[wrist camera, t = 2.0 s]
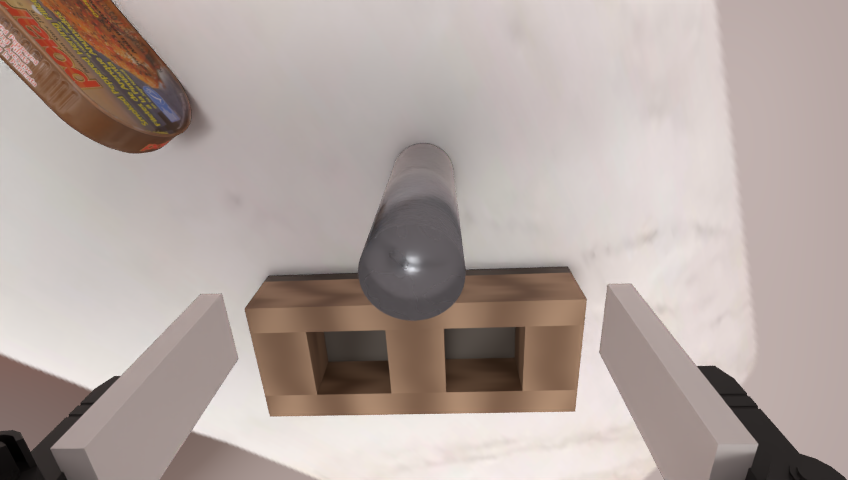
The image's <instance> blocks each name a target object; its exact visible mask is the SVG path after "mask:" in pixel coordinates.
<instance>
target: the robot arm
mask: <svg viewBox="0 0 848 480" xmlns="http://www.w3.org/2000/svg"><path fill="white" fill-rule="evenodd" d="M599 353H600V355H601V357H602V359H603V361H604V363H605V365H606V367H607V369H608V371H609V373H610V375H611V377H612V379H613V380H614V382H615V384H616V386H617V388H618V390H619V392H620V394H621V396H622V398H623V400H624V402H625V404H626V406H627V408H628V410H629V412H630V414H631V416H632V418H633V420H634V422H635V424H636V426H637V428H638V429H639V431H640V433H641V435H642V437H643V439H644V441H645V443H646V445H647V447H648V449H649V451H650V453H651V455H652V457H653V459H654V461H655V463H656V465H657V467H658V469H659V471H660V473H661V475H662V477H663V479H664V480H846V478H845V477H844V476H842V475H841V474H840V473H838V472H837V471H836V470H835V469H833V468H832V467H831V466H829V465H827V464H825V463H823V462H821V461H819V460H817V459H815V458H812V457H808V456H805V455H802V454H799V453H798V451H797V450H796V449H795V448H794V447H793V446H792V444H791V443H790V442H789V441H788V440H787V439H786V438H785V436H784V435H783V434H782V433H781V432H780V431H779V430H778V428H777V427H776V426H775V425H774V424H773V423H772V422H771V420H770V419H769V418H768V417H767V416H766V415H765V414H764V413H763V411H762V410H761V409H758V406H757V405H756V403H755V402H754V401H753V400H752V399H751V398H750V397H749V396H747V393H746V392H745V391H744V390H743V388H742V387H741V386H740V385H739V384H738V383H737V382H736V380H735V379H734V378H732V377H731V376H729V375H728V374H726V373H725V372H723V371H722V370H720V369H719V368H717V367H716V366H696V365H695V363H694V362H693V361H692V360H691V358H690V357H689V356H688V355H687V353H686V352H685V351H684V350H683V348H682V347H681V346H680V344H679V343H678V342H677V341H676V339H675V338H674V337H673V336H672V334H671V333H670V332H669V331H668V329H667V328H666V327H665V326H664V324H663V323H662V322H661V320H660V319H659V318H658V317H657V315H656V314H655V313H654V312H653V310H652V309H651V308H650V307H649V305H648V304H647V303H646V302H645V300H644V299H643V298H642V297H641V295H640V294H639V293H638V291H637V290H636V289H635V288H634V286H633V285H632V284H608V285H607V293H606V301H605V310H604V318H603V326H602V334H601V343H600V351H599ZM237 360H238V355H237V351H236V347H235V343H234V339H233V335H232V332H231V328H230V324H229V320H228V316H227V312H226V308H225V304H224V300H223V296H222V294H200V295H199V296H198V297H197V298H196V299H195V300H194V301H193V302H192V304H191V305H190V306H189V307H188V308H187V309H186V310H185V311H184V312H183V313H182V314H181V315H180V316H179V317H178V318H177V319H176V320H175V321H174V322H173V323H172V324H171V325H170V326H169V327H168V328H167V329H166V330H165V331H164V332H163V333H162V334H161V335H160V336H159V337H158V338H157V339H156V340H155V341H154V343H153V344H152V345H151V346H150V347H149V348H148V349H147V350H146V351H145V352H144V353H143V354H142V355H141V356H140V357H139V358H138V359H137V360H136V361H135V362H134V363H133V364H132V365H131V366H130V367H129V368H128V369H127V370H126V371H125V372H124V373H123V374H122V375H121V376H114V377H112V378H111V379H109V380H108V381H106V382H105V383H103V384H101V385H100V386H98V387H97V388H95V389H94V390H93V391H92V392H91V393H90V394H89V395H88V396H87V397H86V398H85V399H84V400H83V401H82V402H81V405H80V406H77V407H76V408H75V409H74V410H73V411H72V412H71V413H70V414H69V417H66V418H65V419H64V420H63V421H62V422H61V423H60V424H59V425H58V426H57V427H56V428H55V429H54V430H53V431H52V432H51V433H50V434H49V435H48V436H47V437H45V439H44V440H42V441H41V442H40V444H38V445H37V446H36V447H35V448H34V449H33V450H32V451H31V452H30V450H29V448H28V446H27V444H26V442H25V440H24V438H23V436H22V435H21V433H20V432H17V431H13V430H11V431H0V480H160V478H161V477H162V475H163V474H164V472H165V470H166V469H167V467H168V466H169V464H170V463H171V461H172V460H173V458H174V457H175V455H176V454H177V452H178V450H179V449H180V448H181V446H182V444H183V443H184V441H185V440H186V438H187V437H188V435H189V434H190V432H191V431H192V429H193V428H194V426H195V425H196V423H197V421H198V420H199V418H200V417H201V415H202V414H203V412H204V411H205V409H206V408H207V406H208V405H209V403H210V402H211V400H212V398H213V397H214V395H215V394H216V392H217V391H218V389H219V388H220V386H221V385H222V383H223V382H224V380H225V379H226V377H227V375H228V374H229V372H230V371H231V369H232V368H233V366H234V365H235V363H236V362H237Z"/></svg>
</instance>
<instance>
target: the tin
mask: <svg viewBox="0 0 848 480" xmlns="http://www.w3.org/2000/svg"><path fill="white" fill-rule="evenodd" d="M0 58H1V59H2V60H3V61H4V62H5V63H6V64H7V65H8V66H9V67H10V68H11V69H12V70H13V71H14V72H15V73H16V74H17V75H18V76H19V77H20V78H21V79H22V80H23V81H24V82H25V83H26V84H27V85H28V86H29V87H30V88H31V89H32V90H33V91H34V92H35V93H36V94H37V95H38V96H39V97H40V98H41V99H42V100H43V101H44V103H45V104H46V105H47V106H48V107H50V108H51V109H52V110H53V111H54V112H55V113H56V114H57V115H58V116H59V117H60V118H61V119H62V120H63V121H65V122H66V123H67V124H68V125H69V126H71V127H72V128H74V129H75V130H77V131H78V132H80V133H81V134H83V135H84V136H86V137H88V138H90V139H91V140H93V141H95V142H97V143H100V144H102V145H104V146H106V147H109V148H112V149H115V150H119V151H122V152H127V153H146V152H152V151H155V150H158V149H160V148H162V147H163V146H164V145H166V144H167V143H168V142H169V141H171V140H172V139H173V138H174V137H175V136H176V135H179V134H181V133H183V132H184V131H185V130H186V129H187V128H188V126H189V125H190V122H191V107H190V103H189V100H188V97H187V95H186V93H185V91H184V89H183V87H182V86H181V84H180V82H179V81H178V80H177V78H176V77H175V75H174V74H173V73H172V72H171V70H170V69H169V68H168V67H167V66H166V64H165V63H164V62H163V61H162V60H161V59H160V57H159V56H158V55H157V54H156V53H155V52H154V50H153V49H152V48H151V47H150V46H149V45H148V44H147V42H146V41H145V40H144V39H143V38H142V36H141V35H140V34H139V33H138V32H137V31H136V30H135V28H134V27H133V26H132V25H131V24H130V23H129V21H128V20H127V19H126V18H125V17H124V16H123V14H122V13H121V12H120V11H119V10H118V9H117V7H116V6H115V5H114V4H113V3H112V1H111V0H0Z"/></svg>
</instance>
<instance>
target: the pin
mask: <svg viewBox="0 0 848 480" xmlns="http://www.w3.org/2000/svg"><path fill="white" fill-rule="evenodd" d="M465 274H466V273H465V263H464V255H463V246H462V238H461V229H460V221H459V213H458V204H457V196H456V187H455V179H454V171H453V165H452V162H451V160H450V158H449V156H448V155H447V154H446V153H445V152H444V151H443V150H442V149H441V148H439V147H437V146H435V145H432V144H428V143H419V144H414V145H412V146H409V147H408V148H406V149H405V150H403V151H402V152H401V153H400V155H399V156H398V158H397V159H396V162H395V164H394V167H393V170H392V172H391V175H390V178H389V181H388V183H387V186H386V189H385V192H384V194H383V197H382V200H381V203H380V205H379V208H378V211H377V214H376V217H375V219H374V222H373V225H372V228H371V230H370V233H369V236H368V239H367V241H366V244H365V247H364V250H363V252H362V255H361V258H360V262H359V267H358V277H359V282H360V285H361V288H362V290H363V292H364V294H365V296H366V297H367V299H368V300H369V301H370V302H371V303H372V305H374V306H375V307H376V308H377V309H378V310H380V311H381V312H383V313H385V314H387V315H389V316H391V317H394V318H397V319H401V320H408V321H418V320H425V319H429V318H432V317H435V316H437V315H440V314H441V313H443V312H445V311H446V310H447V309H449V308H450V307H451V306H452V305H453V304H454V303H455V302H456V300H457V299H458V298H459V296H460V294H461V292H462V290H463V287H464V283H465Z"/></svg>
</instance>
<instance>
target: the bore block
mask: <svg viewBox="0 0 848 480" xmlns="http://www.w3.org/2000/svg"><path fill="white" fill-rule="evenodd" d="M465 273H466V274H465V283H464V287H463V290H462V292H461V294H460V296H459V298H458V299H457V300H456V302H455V303H454V304H453V305H452V306H451V307H450V308H449V309H447V310H446V311H445V312H443V313H441V314H440V315H437V316H435V317H432V318H429V319H425V320H418V321H408V320H401V319H397V318H394V317H391V316H389V315H387V314H385V313H383V312H381V311H380V310H378V309H377V308H376V307H375V306H374V305H372V303H371V302H370V301H369V300H368V299H367V297H366V296H365V294H364V292H363V290H362V288H361V285H360V282H359V277H358V273H348V274H315V275H283V276H268V277H267V279H266V280H265V281H264V283H263V284H262V286H261V287H260V288H259V290H258V291H257V292H256V294H255V295H254V297H253V298H252V299H251V301H250V302H249V303H248V305H247V306H246V307H245V313H246V317H247V321H248V325H249V330H250V334H251V338H252V342H253V346H254V351H255V355H256V359H257V363H258V368H259V372H260V376H261V380H262V384H263V389H264V393H265V397H266V401H267V406H268V410H269V414H270V416H326V415H387V414H448V413H509V412H570V411H575V407H576V397H577V387H578V378H579V368H580V359H581V349H582V340H583V330H584V320H585V311H586V301H587V299H586V297H585V296H584V294H583V292H582V290H581V289H580V287H579V285H578V283H577V282H576V280H575V278H574V277H573V275H572V273H571V271H570V270H569V268H568V267H542V268H510V269H477V270H465Z"/></svg>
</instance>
